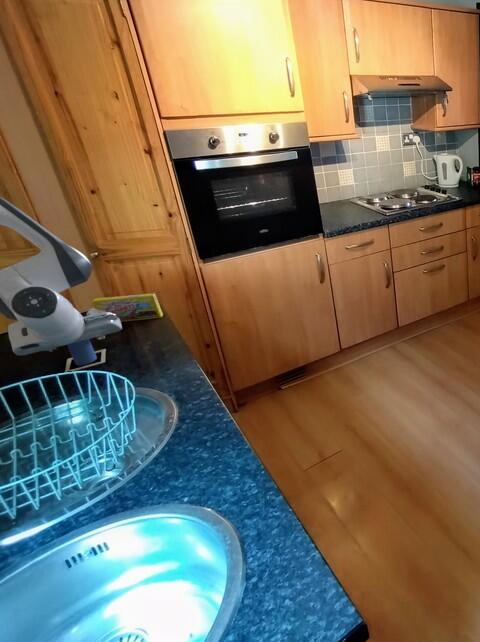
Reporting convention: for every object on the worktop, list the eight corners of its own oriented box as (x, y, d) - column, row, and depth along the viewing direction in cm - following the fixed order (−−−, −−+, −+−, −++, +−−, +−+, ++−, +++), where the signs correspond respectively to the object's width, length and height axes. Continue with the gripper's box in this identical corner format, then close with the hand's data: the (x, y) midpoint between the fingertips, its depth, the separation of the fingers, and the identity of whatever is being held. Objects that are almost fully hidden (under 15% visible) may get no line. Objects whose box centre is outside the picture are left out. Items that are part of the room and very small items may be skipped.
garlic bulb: (121, 319, 142) (115, 304, 140) (99, 328, 137) (92, 312, 135) (112, 315, 144) (106, 300, 142) (89, 324, 140) (83, 308, 137)
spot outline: (65, 373, 117) (64, 372, 117) (67, 359, 123) (67, 358, 123) (104, 362, 122) (104, 361, 122) (105, 349, 127) (105, 348, 127)
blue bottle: (75, 367, 119) (57, 330, 115) (76, 360, 123) (59, 323, 118) (96, 361, 122) (80, 324, 117) (97, 354, 125) (81, 318, 120)
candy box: (100, 324, 140) (90, 301, 136) (104, 321, 142) (94, 298, 138) (161, 318, 144) (152, 295, 140) (163, 315, 146) (155, 292, 142)
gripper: (112, 301, 116) (124, 319, 127) (-2, 326, 104) (23, 344, 115) (117, 323, 115) (130, 340, 126) (3, 351, 103) (28, 367, 114)
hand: (78, 342), depth 120 cm, fingers open, 8 cm apart
